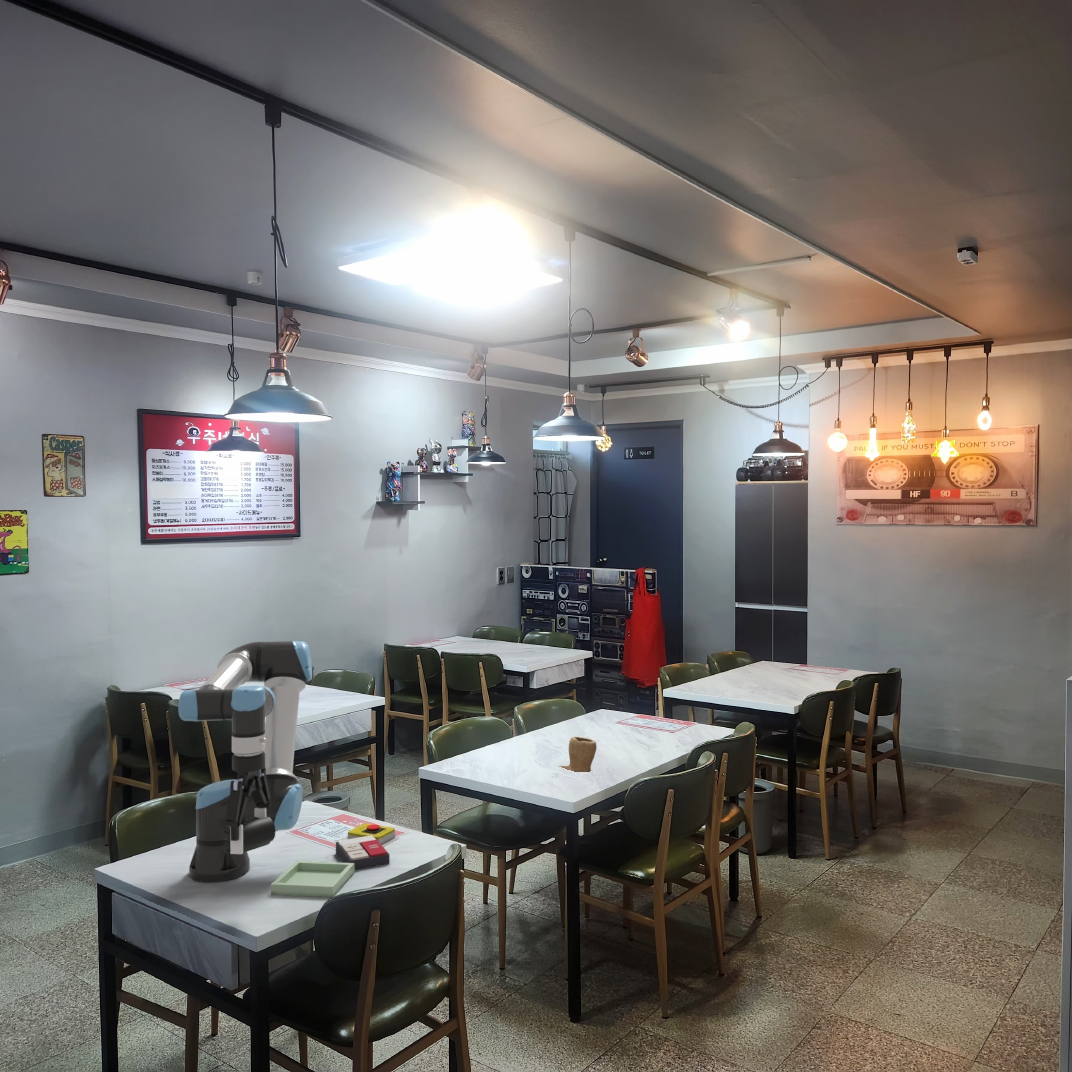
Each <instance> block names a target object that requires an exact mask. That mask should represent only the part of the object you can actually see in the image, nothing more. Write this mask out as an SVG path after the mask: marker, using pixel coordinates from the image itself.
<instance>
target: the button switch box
mask: <svg viewBox="0 0 1072 1072" xmlns="http://www.w3.org/2000/svg"><path fill="white" fill-rule="evenodd" d="M384 847H385V846H384ZM384 847H383V846H382V845H381V844H380V843H379V842H378V841H377V839H376V838H375V837H374V836H372V835H371V836H365V837H359V838H353V839H346V840H342V839H341V840H338V841H336V842H335V855H336V856H337V858H339V859H340V860H341V861H342V863H354V865H355V871H357V870H363V869H367V868H373V867H377V866H378V867H379V866H384V865H389V864H390V853H389V852H388V851H387V849H385V848H384Z"/></svg>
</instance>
